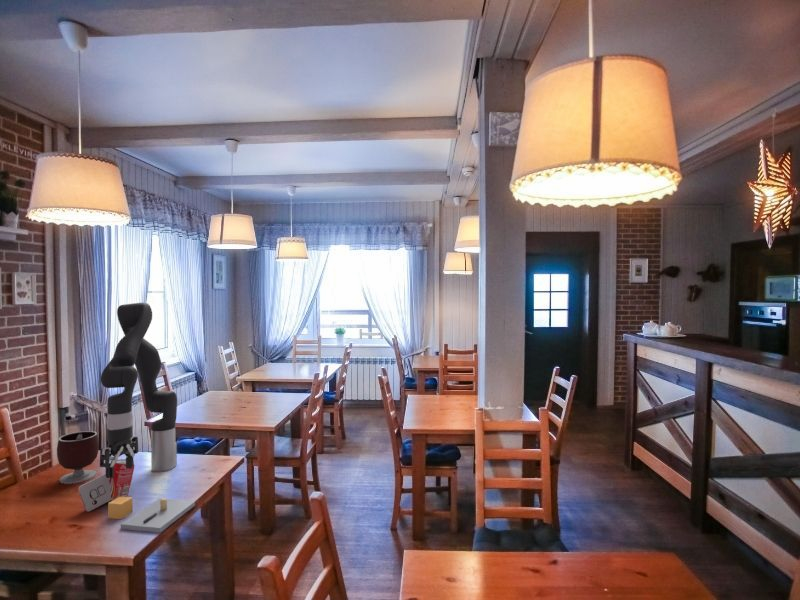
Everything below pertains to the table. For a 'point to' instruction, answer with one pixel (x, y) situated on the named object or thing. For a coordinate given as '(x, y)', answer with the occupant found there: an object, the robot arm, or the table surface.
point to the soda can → (121, 479)
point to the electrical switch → (95, 492)
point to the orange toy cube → (120, 507)
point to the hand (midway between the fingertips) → (119, 472)
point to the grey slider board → (158, 515)
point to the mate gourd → (77, 455)
